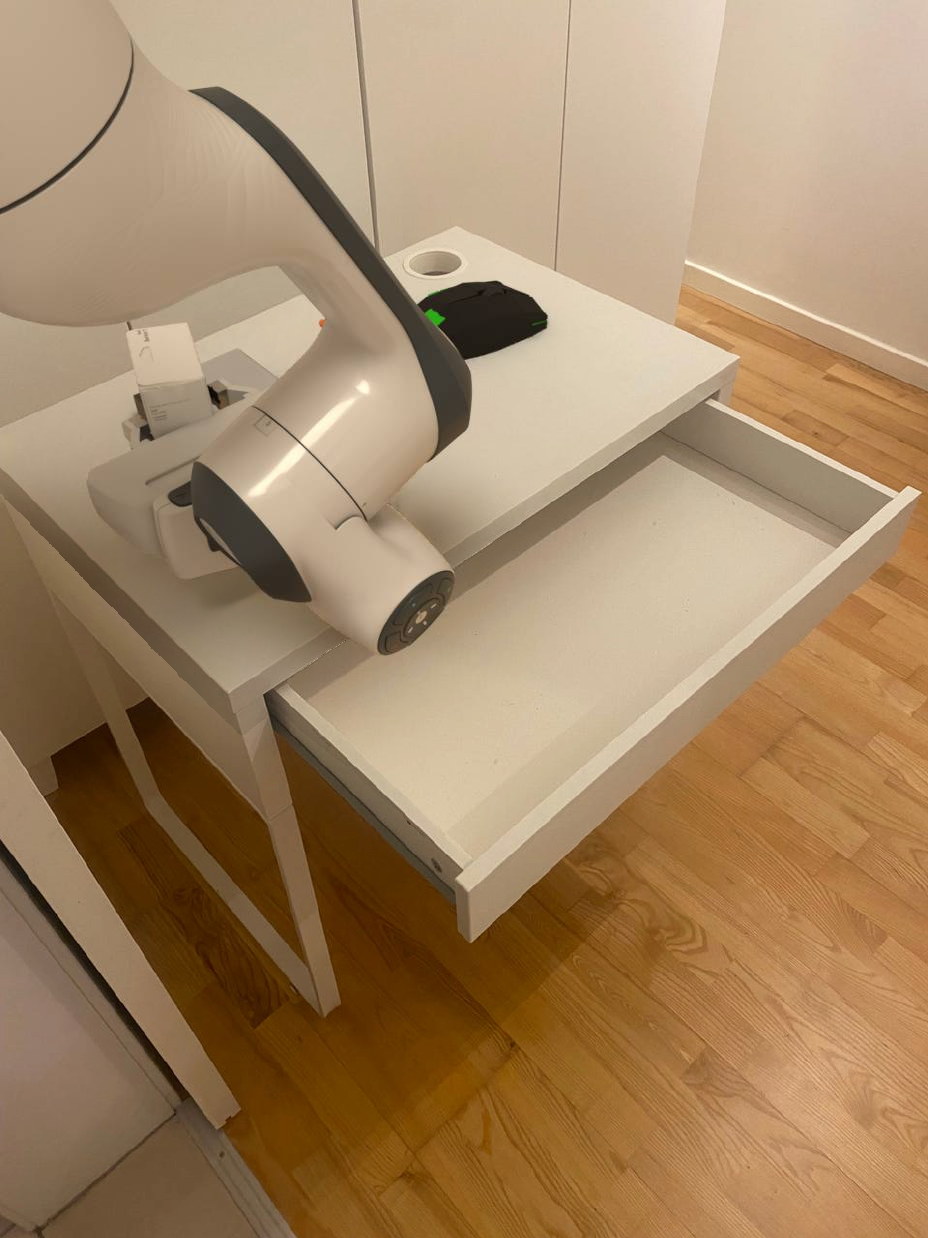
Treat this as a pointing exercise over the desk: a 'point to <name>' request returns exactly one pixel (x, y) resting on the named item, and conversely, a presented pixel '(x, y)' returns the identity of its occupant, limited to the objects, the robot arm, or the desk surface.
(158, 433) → the ink box
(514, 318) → the computer mouse
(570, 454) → the desk surface
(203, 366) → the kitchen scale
